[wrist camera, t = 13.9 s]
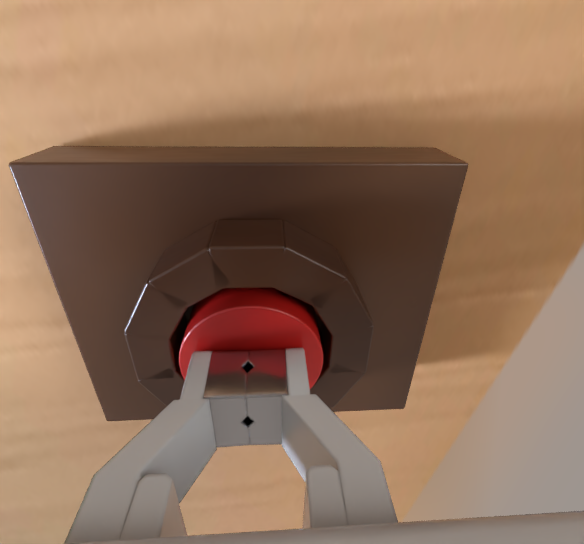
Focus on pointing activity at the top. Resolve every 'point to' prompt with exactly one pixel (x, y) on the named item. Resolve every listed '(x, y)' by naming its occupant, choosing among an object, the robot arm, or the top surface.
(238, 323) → the button
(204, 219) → the control block
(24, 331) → the top surface
